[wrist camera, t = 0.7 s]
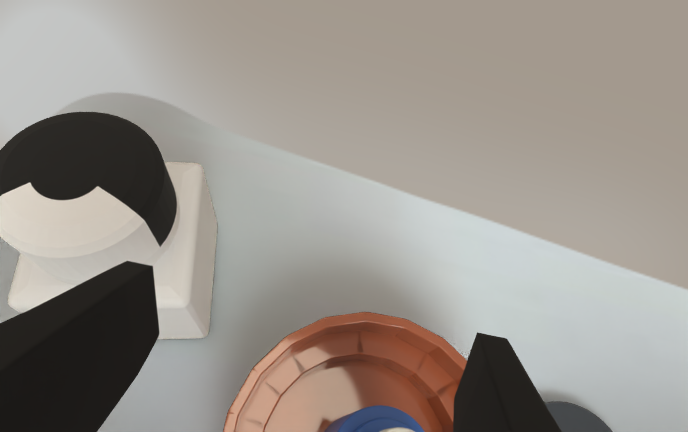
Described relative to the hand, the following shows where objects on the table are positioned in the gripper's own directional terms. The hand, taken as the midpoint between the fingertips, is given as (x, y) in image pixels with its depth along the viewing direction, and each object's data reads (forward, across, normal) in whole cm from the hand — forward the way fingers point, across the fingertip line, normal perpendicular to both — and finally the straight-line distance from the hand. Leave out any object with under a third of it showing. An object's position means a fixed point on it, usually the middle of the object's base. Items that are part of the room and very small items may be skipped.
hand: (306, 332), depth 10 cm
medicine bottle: (+12, +11, +10) cm, 20 cm away
